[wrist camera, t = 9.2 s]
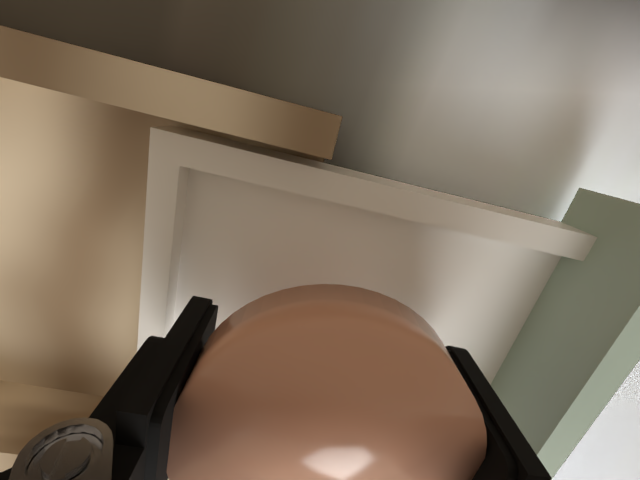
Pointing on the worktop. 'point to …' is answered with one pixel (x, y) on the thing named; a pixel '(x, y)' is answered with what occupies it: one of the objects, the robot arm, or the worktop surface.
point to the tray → (405, 268)
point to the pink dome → (325, 395)
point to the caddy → (94, 211)
